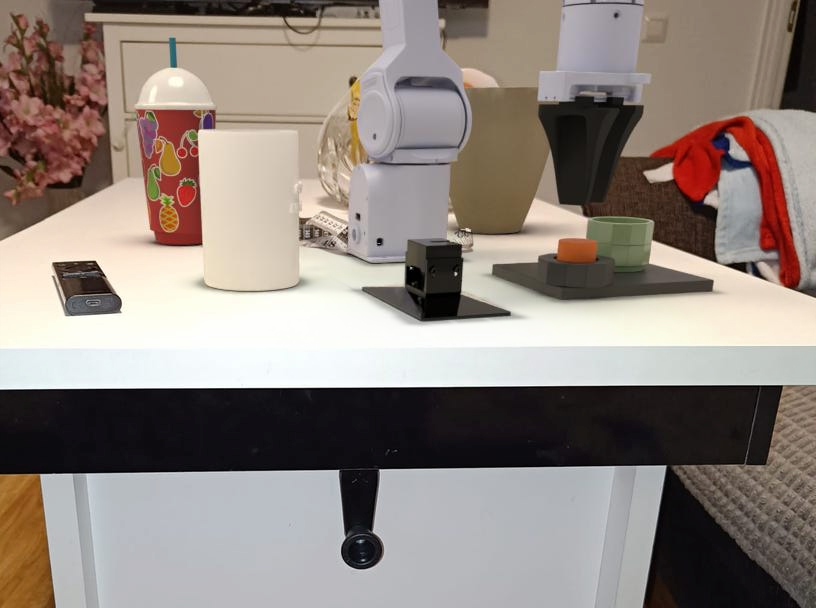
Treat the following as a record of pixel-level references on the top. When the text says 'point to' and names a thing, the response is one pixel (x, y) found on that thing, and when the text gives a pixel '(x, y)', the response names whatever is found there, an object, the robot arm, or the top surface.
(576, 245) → the button
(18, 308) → the top surface
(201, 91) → the smoothie
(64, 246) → the top surface
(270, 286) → the mug
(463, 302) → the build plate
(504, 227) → the plant pot
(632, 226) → the bowl
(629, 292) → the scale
